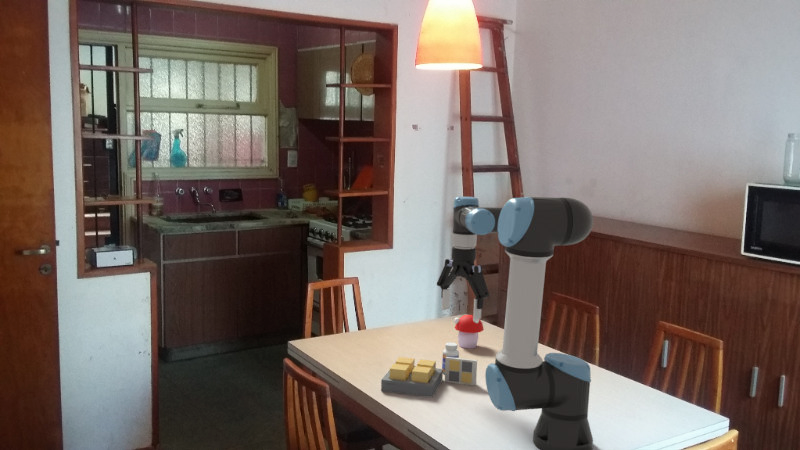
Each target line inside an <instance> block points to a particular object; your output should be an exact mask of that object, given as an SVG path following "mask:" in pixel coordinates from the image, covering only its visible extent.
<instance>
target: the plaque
mask: <svg viewBox="0 0 800 450" xmlns="http://www.w3.org/2000/svg"><path fill="white" fill-rule="evenodd" d="M477 371H478V359H470V358H461V357H459V358H453V357H446V360H445V374H444V383H451V384H452V383H453V384H460V385H467V386H468V385H469V386H476V385H477V376H478V375H477Z"/></svg>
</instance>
